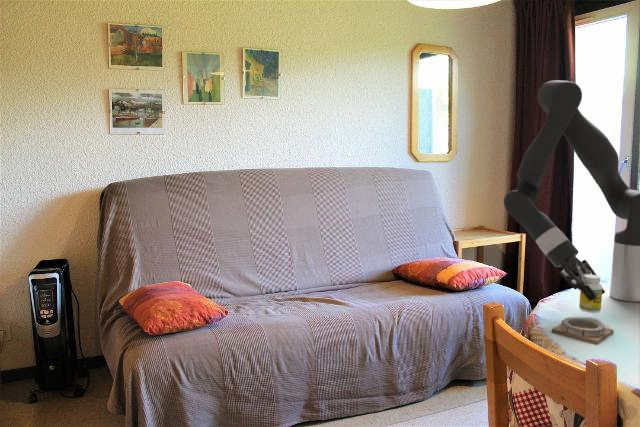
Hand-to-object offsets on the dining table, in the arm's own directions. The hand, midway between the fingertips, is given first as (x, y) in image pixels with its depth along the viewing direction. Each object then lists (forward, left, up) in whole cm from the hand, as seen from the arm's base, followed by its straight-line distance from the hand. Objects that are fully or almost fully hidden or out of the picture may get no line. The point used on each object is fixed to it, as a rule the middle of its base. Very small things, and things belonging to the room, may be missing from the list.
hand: (597, 296), depth 147 cm
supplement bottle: (0, -2, -5) cm, 5 cm away
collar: (+13, +1, -6) cm, 15 cm away
